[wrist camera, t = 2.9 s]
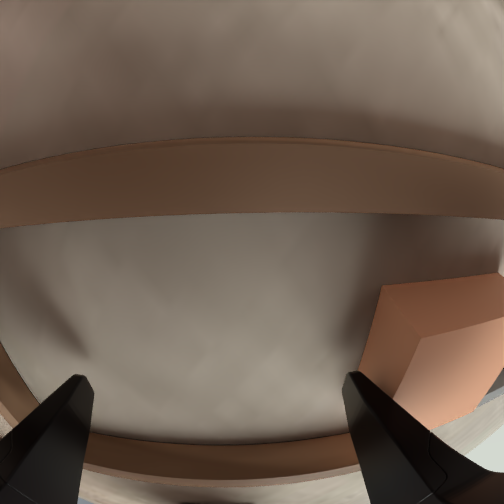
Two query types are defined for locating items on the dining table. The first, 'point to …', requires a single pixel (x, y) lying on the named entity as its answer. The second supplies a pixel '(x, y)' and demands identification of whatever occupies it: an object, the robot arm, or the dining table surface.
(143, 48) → the dining table surface
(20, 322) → the dining table surface
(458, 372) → the terracotta block
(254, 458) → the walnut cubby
